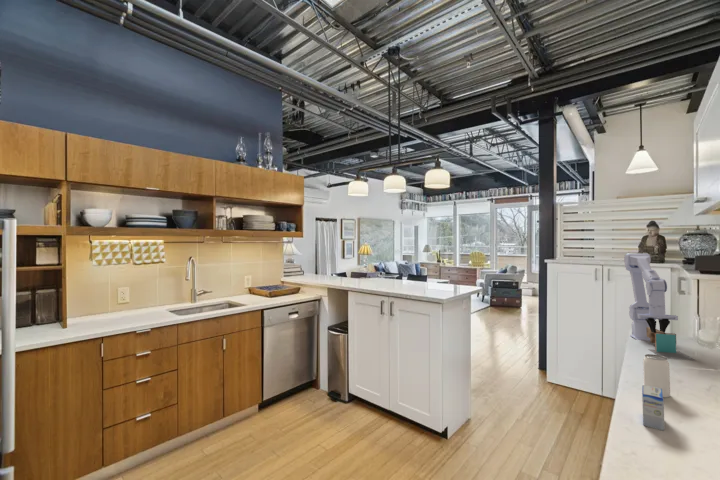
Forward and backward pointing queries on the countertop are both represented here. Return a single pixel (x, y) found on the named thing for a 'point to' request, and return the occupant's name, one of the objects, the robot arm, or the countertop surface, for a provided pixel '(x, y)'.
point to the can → (657, 373)
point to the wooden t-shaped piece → (653, 334)
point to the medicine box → (653, 407)
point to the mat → (672, 355)
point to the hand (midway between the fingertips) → (657, 334)
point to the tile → (665, 342)
